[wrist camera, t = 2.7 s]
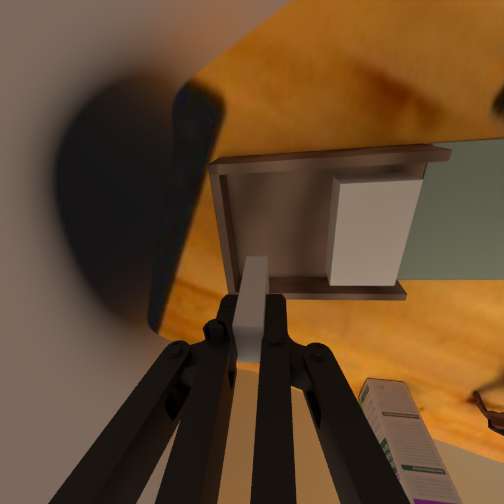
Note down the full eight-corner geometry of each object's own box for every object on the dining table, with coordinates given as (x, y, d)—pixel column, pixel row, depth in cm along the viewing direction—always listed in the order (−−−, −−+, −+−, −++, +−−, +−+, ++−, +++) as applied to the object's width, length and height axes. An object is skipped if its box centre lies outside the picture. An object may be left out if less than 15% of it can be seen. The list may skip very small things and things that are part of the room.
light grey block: (405, 171, 20) (423, 179, 18) (382, 268, 25) (394, 285, 23) (333, 175, 21) (340, 184, 19) (324, 268, 26) (329, 285, 24)
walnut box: (423, 143, 20) (452, 149, 17) (389, 277, 27) (405, 300, 24) (218, 157, 23) (207, 165, 19) (235, 277, 29) (229, 298, 26)
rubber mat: (595, 131, 19) (602, 132, 18) (512, 276, 26) (517, 279, 25) (429, 143, 20) (432, 143, 20) (394, 277, 27) (395, 279, 27)
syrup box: (366, 377, 36) (410, 514, 24) (406, 381, 36) (473, 523, 23) (357, 397, 39) (393, 529, 27) (394, 402, 39) (448, 538, 26)
